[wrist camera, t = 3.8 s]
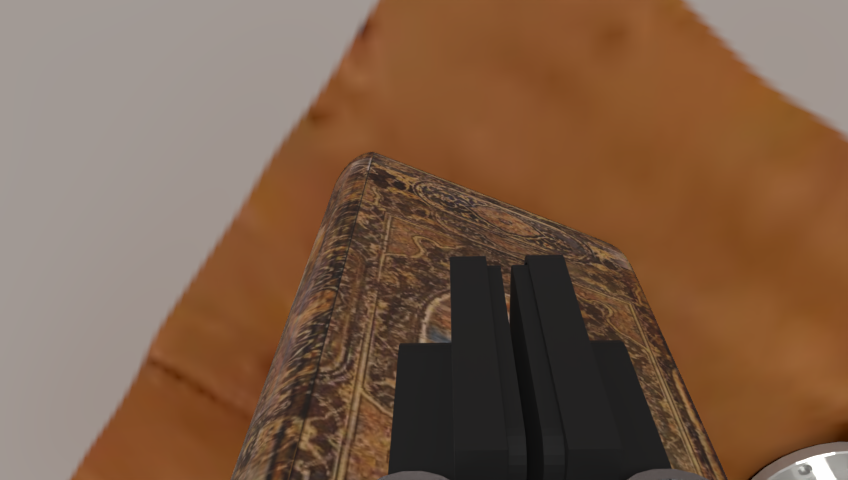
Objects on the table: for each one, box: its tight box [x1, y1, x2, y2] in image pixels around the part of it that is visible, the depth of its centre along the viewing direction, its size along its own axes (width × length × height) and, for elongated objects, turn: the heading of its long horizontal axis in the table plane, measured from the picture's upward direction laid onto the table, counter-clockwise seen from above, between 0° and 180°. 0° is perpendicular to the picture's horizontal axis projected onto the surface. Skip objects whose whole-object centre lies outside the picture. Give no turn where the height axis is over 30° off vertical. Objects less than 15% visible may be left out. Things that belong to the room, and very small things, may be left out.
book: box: [231, 152, 728, 480], centre depth 30 cm, size 16×6×25 cm, turn 68°
